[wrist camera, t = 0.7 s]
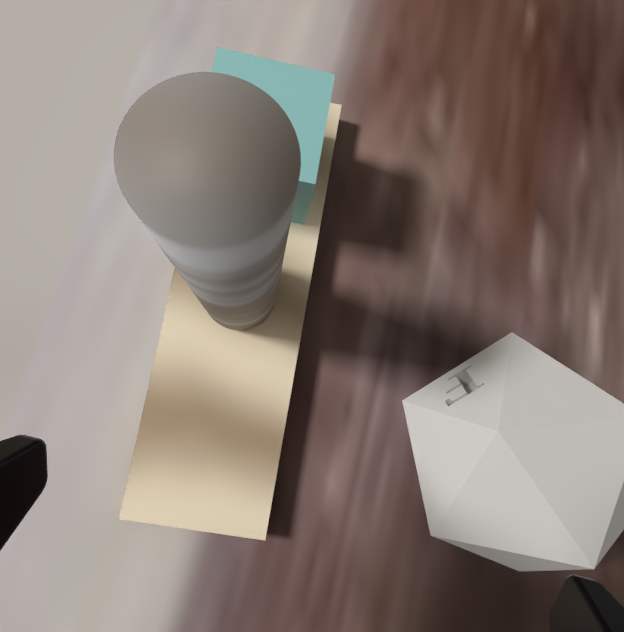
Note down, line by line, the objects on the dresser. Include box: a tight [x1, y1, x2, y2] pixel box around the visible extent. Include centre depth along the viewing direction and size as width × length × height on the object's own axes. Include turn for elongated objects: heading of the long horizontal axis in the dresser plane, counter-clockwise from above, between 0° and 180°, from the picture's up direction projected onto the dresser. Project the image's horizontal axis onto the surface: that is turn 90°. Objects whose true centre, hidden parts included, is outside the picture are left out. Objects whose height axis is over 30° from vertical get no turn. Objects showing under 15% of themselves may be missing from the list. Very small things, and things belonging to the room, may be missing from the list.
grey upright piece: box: [114, 72, 341, 540], centre depth 15 cm, size 20×6×14 cm, turn 170°
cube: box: [212, 47, 335, 224], centre depth 20 cm, size 4×4×4 cm
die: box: [402, 332, 624, 571], centre depth 19 cm, size 8×9×10 cm
